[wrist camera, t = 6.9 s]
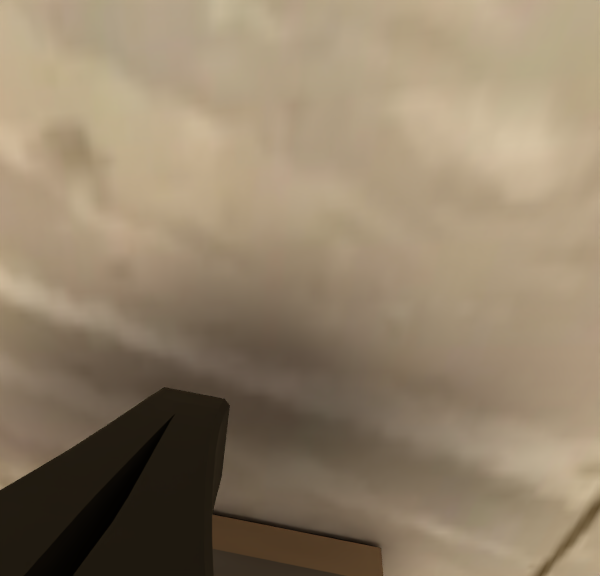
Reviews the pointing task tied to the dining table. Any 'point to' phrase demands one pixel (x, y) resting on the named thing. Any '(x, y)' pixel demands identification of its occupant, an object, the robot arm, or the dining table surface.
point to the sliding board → (286, 552)
